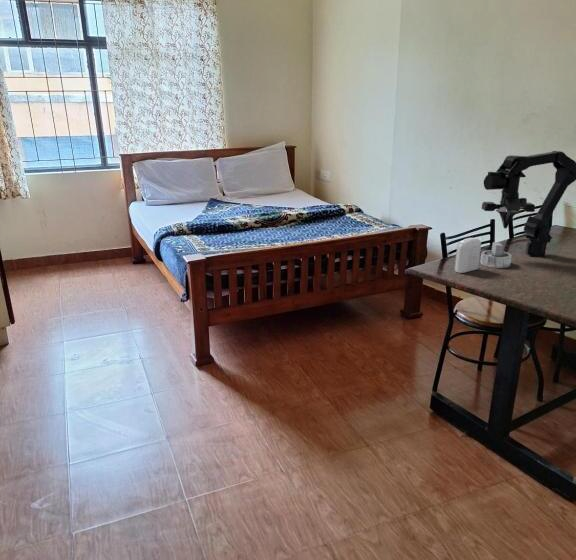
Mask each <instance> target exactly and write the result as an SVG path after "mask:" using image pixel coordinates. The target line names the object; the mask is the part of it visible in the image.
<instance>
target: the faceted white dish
mask: <svg viewBox="0 0 576 560" xmlns="http://www.w3.org/2000/svg"><path fill="white" fill-rule="evenodd" d="M487 252H492V249H489V250H483V251H482V252H481V251H480V259H479V264H481V265H482V266H485V267H488V268H495V269H496V268H498V269H504V268H505V269H506V268H509V267H510V266H511V263H512V257H513V256H512V253H510V252H508V251H507V252H506V251H504V250H502V253H505V254H506V257H494V256H489V255H487Z"/></svg>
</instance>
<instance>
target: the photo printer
mask: <svg viewBox="0 0 576 560" xmlns="http://www.w3.org/2000/svg"><path fill="white" fill-rule="evenodd" d="M481 249H482V242H481V240H480V239H479V238H475V237H468V238H464V239H463V240H460V241H459V242H457V246H456V251H455V252H456V253H455V260H454V261H455V262H454V272H456V273H458V274H462V273H463V274H464V273H468V272H472V271H476V270H478V269H479V265H480V258H481Z"/></svg>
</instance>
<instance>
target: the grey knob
mask: <svg viewBox="0 0 576 560" xmlns="http://www.w3.org/2000/svg"><path fill="white" fill-rule="evenodd" d="M503 248H504V245H503V244H501V243H500V241H499V242H498V241H496V242H495V241H493V242H492V245H491V250H492V252H487V255H489V256H494V257H506V254H505V253H502V251H503Z"/></svg>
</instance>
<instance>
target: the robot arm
mask: <svg viewBox="0 0 576 560" xmlns="http://www.w3.org/2000/svg"><path fill="white" fill-rule="evenodd" d="M546 164H547V165H548V164H552V166H553V168H554V169H556V171H555V173H554V175H555V176H554V178H555V179H554V183H553V184H552V187H551V189H550V190H549V191H548V193H547V195H546V197H545V199H544V200H543V202H542V203H541V206H540V208H539V210H538V211H537V213H536V214H535V215H534V216H532V215H529V216H528V217H527V220H526V222H525V223H524V227H523V231H524V234H525V238H526V239H528V240H527V241H528V242H526V246H525V251H524V253H525V254H527V256H528V257H536V258H537V257H538V258H539V257H541V258H547V255H546V250H547V243H551V241H552V238H553V237H552V236H551V235H550V233H549V232H548V230H549V227H550V218H551V216H552V215H553V212H554V211H555V210H556V208H557V205H558V204H559V202H560V201H561V199H562V197H563V195H564V193H565V192H566V190H567V188H568V187H569V186H570V185H572V184H573V183H575V182H576V161H575V159H572V158H571V157H569V156H568V155H567V154H566V153H565V152H564V151H561V150H560V151H559V150H552V151H550V152H549V151H548V152H545V153H544V152H543V153H542V152H541V153H537V154H531V155H507V156H506V157H505V159H504V160H503V162H502V164H501V165H500V166H499V167H498V169H497V170H496V171H487V172H488V173H487V175H486V176H485V177H484V179H483V187H484V189H485V190H486V191H488V190H491V191H492V190H501V199H500V201H499V204H498V203H495V202H493V201H483V202H482V204H481V210H483V211H484V212H494V211H496V212H497V213H499V216H500V219H501V222H502V227H503V229H508V226H509V225H510V223H511V221H512V219H513V218H514V217H515V216H516V215H518V214H519V212H520V211H521V210H524V211H525V212H527V213H535V211H536V206H535V204H533V203H531V202H528V199H527V198H526V197H521V198H520V193H519V188H520V180H521V178H526V174H525V173H523V171H525V170H528V169H529V168H531V167H536V166H540V165H546Z"/></svg>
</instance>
